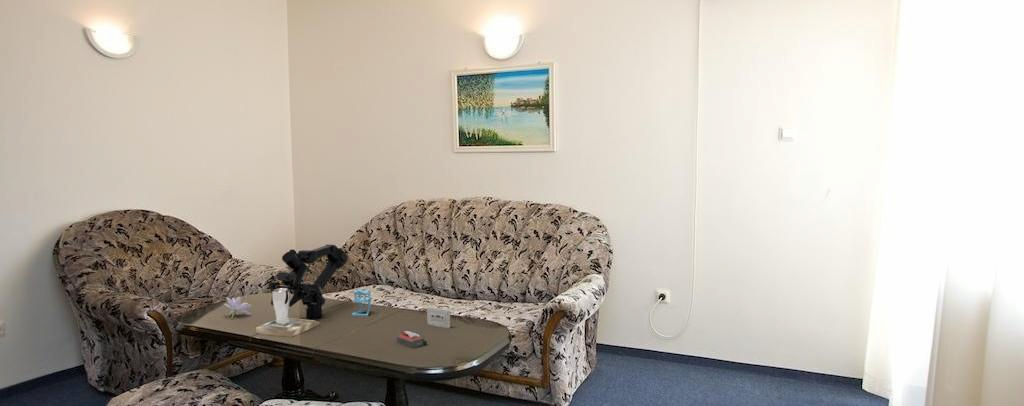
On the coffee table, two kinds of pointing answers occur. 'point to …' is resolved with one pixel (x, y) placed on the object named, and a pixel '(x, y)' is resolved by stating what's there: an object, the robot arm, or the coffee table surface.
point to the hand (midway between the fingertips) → (280, 305)
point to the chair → (362, 299)
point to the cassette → (435, 321)
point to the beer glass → (281, 306)
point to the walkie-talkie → (410, 339)
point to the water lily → (237, 306)
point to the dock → (286, 327)
